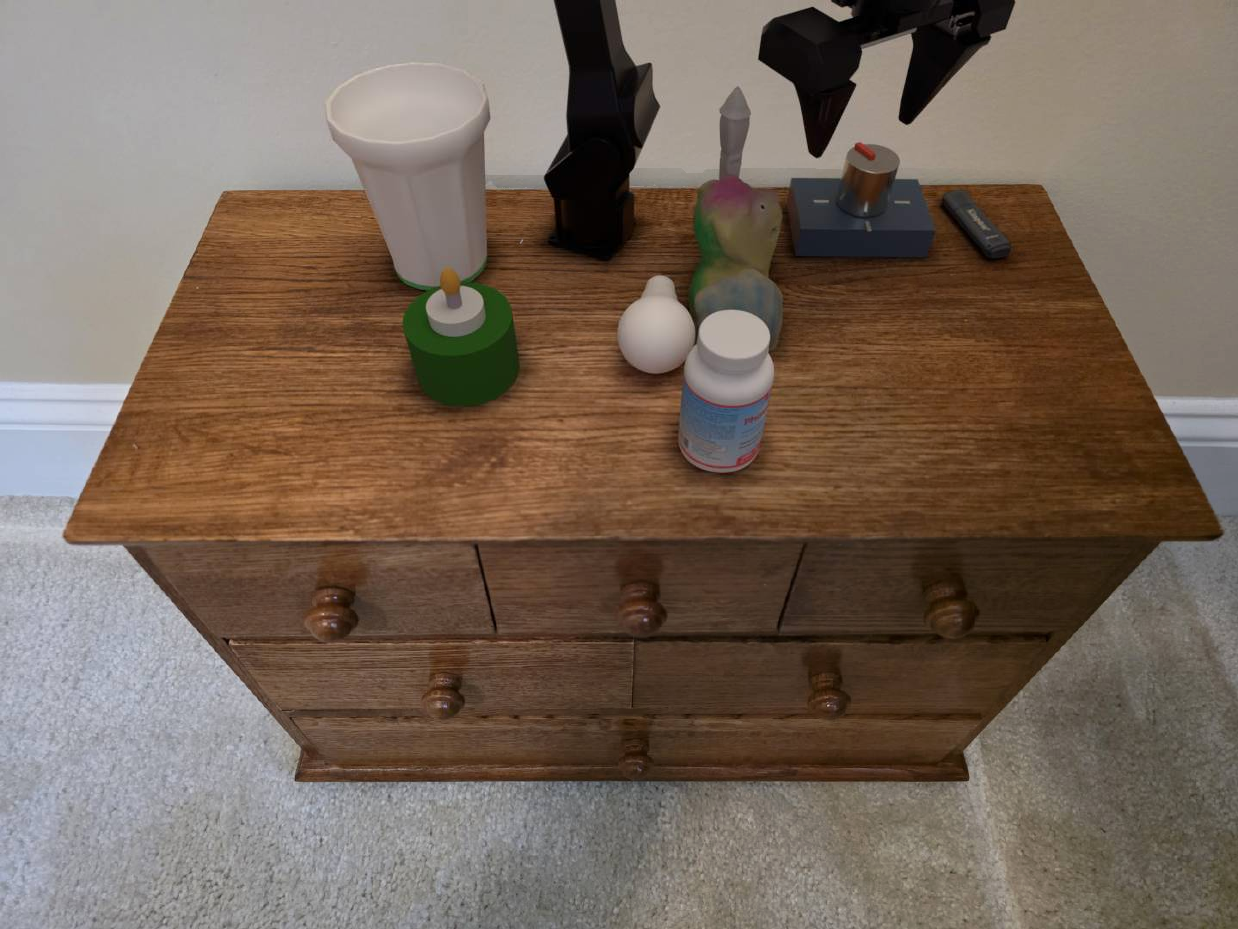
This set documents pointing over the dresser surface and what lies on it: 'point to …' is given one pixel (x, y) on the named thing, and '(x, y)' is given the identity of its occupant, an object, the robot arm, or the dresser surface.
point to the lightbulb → (656, 329)
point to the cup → (419, 163)
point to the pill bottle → (726, 392)
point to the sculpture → (736, 253)
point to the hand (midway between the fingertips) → (860, 138)
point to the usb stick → (976, 224)
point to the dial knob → (867, 180)
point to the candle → (462, 342)
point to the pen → (733, 132)
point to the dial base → (858, 222)
